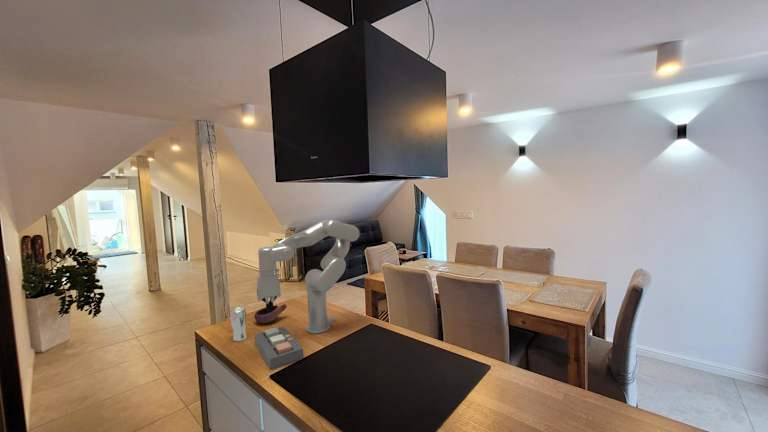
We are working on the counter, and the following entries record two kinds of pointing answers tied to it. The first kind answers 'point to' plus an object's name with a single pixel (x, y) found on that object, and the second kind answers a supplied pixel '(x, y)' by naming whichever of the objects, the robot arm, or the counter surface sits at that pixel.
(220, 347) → the counter surface
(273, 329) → the sage key
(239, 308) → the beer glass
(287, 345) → the terracotta key
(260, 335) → the keyguard board
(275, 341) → the white key
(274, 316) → the bowl
